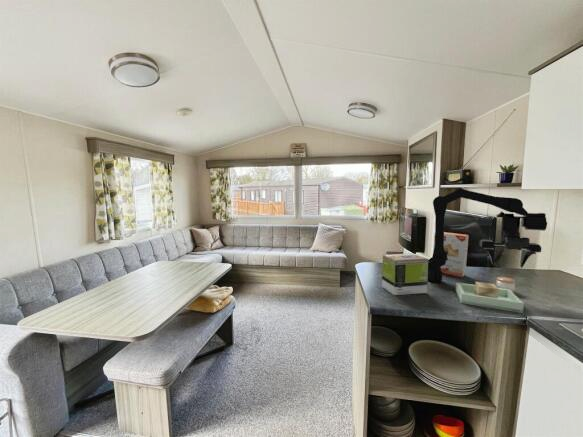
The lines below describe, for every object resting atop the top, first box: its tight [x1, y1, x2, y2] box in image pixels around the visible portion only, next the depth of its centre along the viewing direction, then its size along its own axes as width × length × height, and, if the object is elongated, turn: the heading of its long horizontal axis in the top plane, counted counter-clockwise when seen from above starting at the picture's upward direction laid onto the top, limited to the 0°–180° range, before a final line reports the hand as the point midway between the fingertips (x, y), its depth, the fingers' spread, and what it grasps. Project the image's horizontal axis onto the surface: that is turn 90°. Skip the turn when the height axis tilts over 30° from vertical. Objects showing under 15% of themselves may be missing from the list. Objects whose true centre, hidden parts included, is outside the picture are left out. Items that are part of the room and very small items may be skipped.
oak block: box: [474, 281, 499, 298], centre depth 98 cm, size 6×6×5 cm
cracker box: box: [432, 231, 469, 278], centre depth 131 cm, size 14×6×21 cm, turn 43°
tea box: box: [381, 253, 429, 296], centre depth 107 cm, size 15×10×15 cm
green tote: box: [455, 282, 525, 314], centre depth 98 cm, size 18×14×4 cm
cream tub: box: [495, 276, 516, 294], centre depth 108 cm, size 6×6×5 cm
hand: (506, 265), depth 106 cm, fingers open, 9 cm apart
